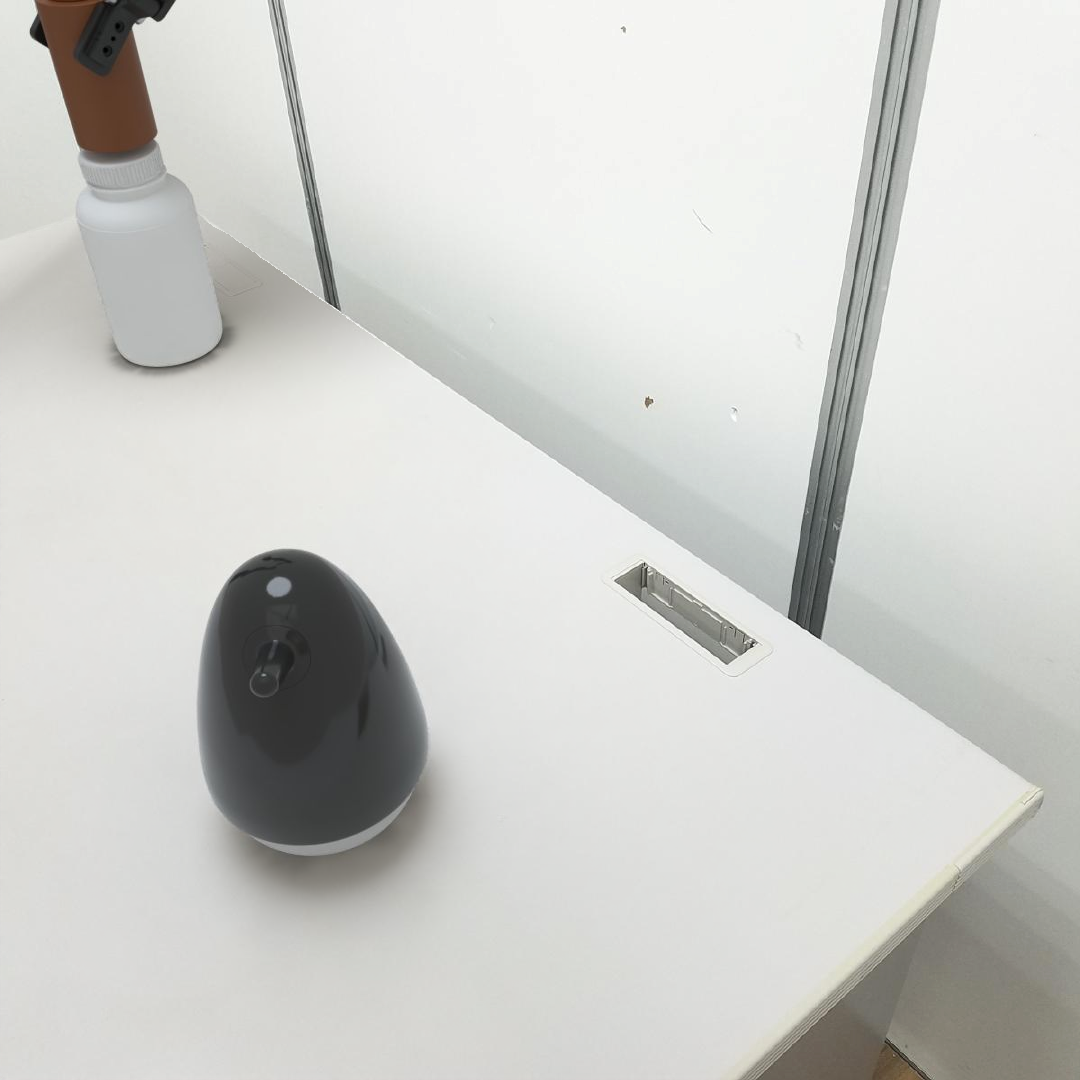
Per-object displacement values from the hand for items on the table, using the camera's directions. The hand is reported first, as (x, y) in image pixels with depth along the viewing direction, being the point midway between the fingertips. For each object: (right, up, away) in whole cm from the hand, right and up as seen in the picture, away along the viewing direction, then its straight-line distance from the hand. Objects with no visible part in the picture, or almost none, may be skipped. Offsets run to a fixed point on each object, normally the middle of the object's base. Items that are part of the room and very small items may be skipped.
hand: (66, 56), depth 71 cm
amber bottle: (+1, -3, +5) cm, 6 cm away
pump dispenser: (+19, -43, -16) cm, 50 cm away
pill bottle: (+2, -15, +15) cm, 22 cm away
